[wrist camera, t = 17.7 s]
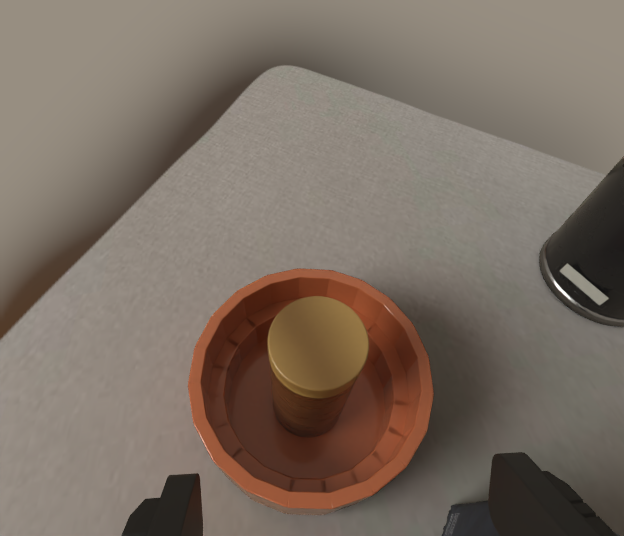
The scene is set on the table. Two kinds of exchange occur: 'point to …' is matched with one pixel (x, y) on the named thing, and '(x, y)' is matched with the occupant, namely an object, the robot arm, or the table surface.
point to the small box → (470, 520)
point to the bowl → (353, 419)
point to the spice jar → (314, 362)
